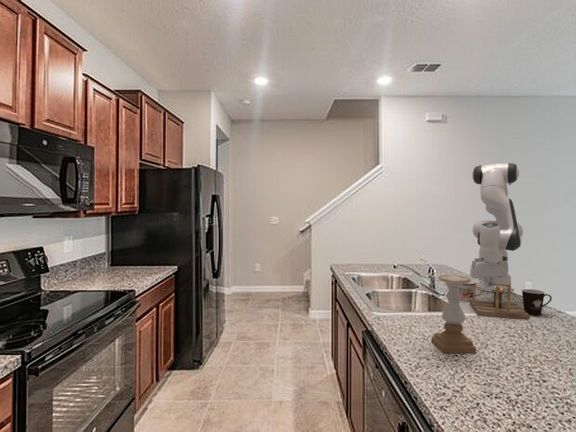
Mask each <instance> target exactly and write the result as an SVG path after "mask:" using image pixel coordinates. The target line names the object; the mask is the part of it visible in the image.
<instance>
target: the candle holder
mask: <svg viewBox="0 0 576 432" xmlns="http://www.w3.org/2000/svg"><path fill="white" fill-rule="evenodd" d="M437 278H438V281H440V282H442V283H443V282H444V283H445V285H446V287H447V288H448V291H447V293H446V295H445V297H446V299H447V301H448V303H447V305H446V307H445V309H444V310H443V311H442V314H441V318H442V320H443V321H445V323H444V325H443V328H444V330H443V331H442V332H435V333H434V334H433V336H431V343H432V344H433V345H434V346H435V347H436V348H438V349H439V350H440V351H441V352H442V353H444V354H476V353H477V347H476V346H475V345H474V342H473V341H472V340H471V339H469V338H468V336H466V335H465V334H464V333H463V331H464V327H463V323H464V322H465V320H466V315H465V312H464V311H463V309H462V307H461V305H460V303H461V298H462V296H461V294H460V288H461V287H462V285H463V284H465V283H470V281H471V280H472V279H471V278H470V277H469V276H466V277H465V276H462V275H454V274H453V275H452V274H447V275H446V274H444V275H439V276H438V277H437Z"/></svg>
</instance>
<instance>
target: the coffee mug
mask: <svg viewBox="0 0 576 432" xmlns="http://www.w3.org/2000/svg"><path fill="white" fill-rule="evenodd" d="M521 293H522V294H521V295H522V296H521V297H522V303H523V306H522V307H523V310H524V311H526V312H527V313H528V314H529V316H541V315H542V310H543V307H545V306H547V305H549V303H550V302H551V301H552V295H550V294H548V293H546V292H545V291H543V290H540V289H532V288H530V289H529V288H527V289H525V288H524V289H521ZM546 296H548V297H549V300H548V301H547V302H546V303H544V300H545V299H544V298H545V297H546Z"/></svg>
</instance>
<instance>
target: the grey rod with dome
mask: <svg viewBox="0 0 576 432" xmlns="http://www.w3.org/2000/svg"><path fill="white" fill-rule="evenodd" d="M491 291H494V292H496V283H495V282H493V285H491ZM494 292H493V293H494ZM499 292H500V293H502V294H504V293H503V292H505V286H499ZM505 293H506V292H505Z"/></svg>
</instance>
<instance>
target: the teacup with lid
mask: <svg viewBox="0 0 576 432" xmlns="http://www.w3.org/2000/svg"><path fill="white" fill-rule="evenodd" d="M464 277H467V276H464ZM477 288H480V289H479V290H480V292H479V293H478V294H476V289H477ZM460 294H461V296H462V298H461V300H460V302H461V301H463V302H470V300H476V297H479V296H481V295H482V294H483V290H482V288H481V287H479V286H478V285H477V282H476V281H474V280H472V279H471V281H470V283H465V284H463V285H462V287H461V288H460Z"/></svg>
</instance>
